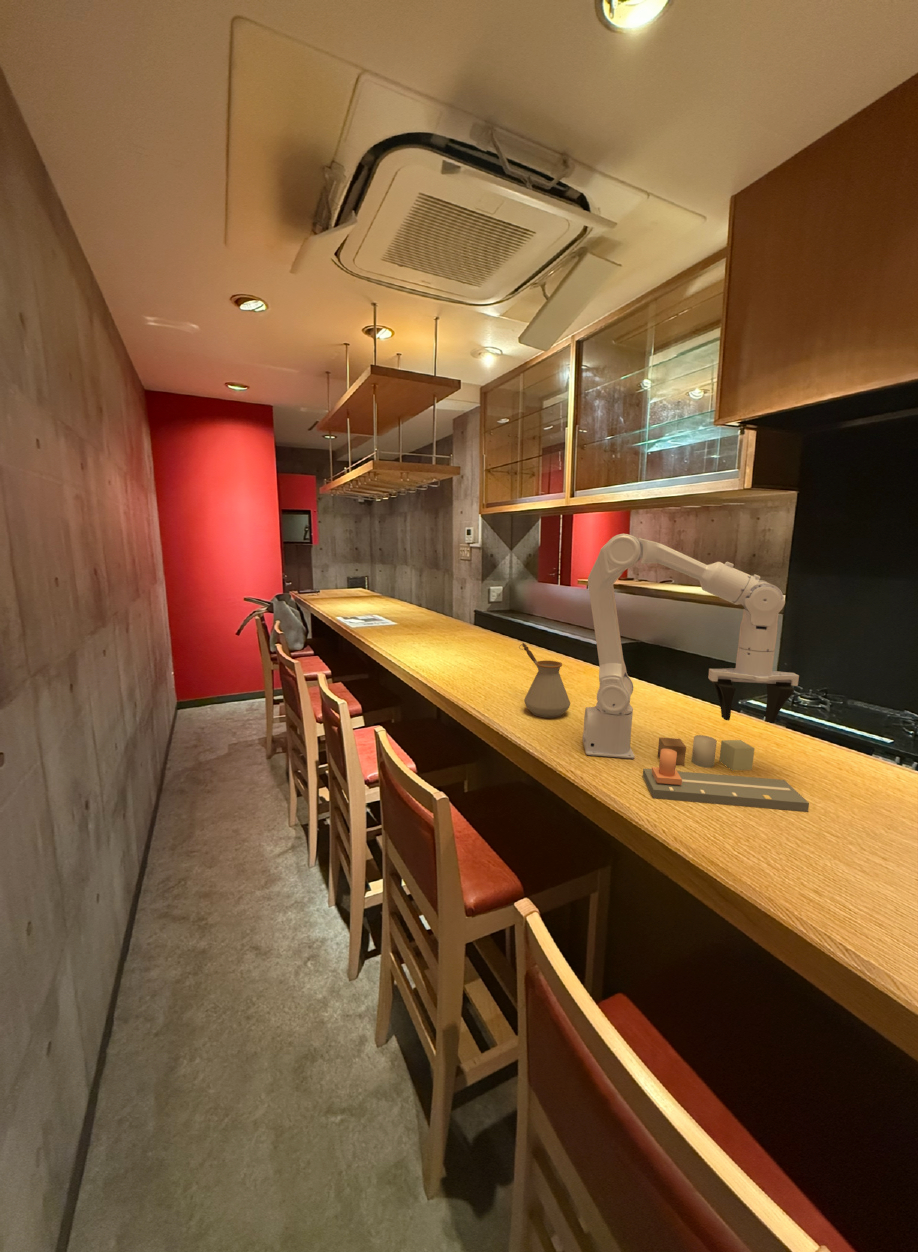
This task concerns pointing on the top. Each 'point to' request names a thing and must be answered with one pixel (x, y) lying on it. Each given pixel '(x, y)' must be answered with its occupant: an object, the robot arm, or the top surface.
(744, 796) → the slate board
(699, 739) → the grey cylinder
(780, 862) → the top surface
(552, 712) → the coffee pot
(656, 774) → the counter slider
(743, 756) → the sage block
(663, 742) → the walnut block
